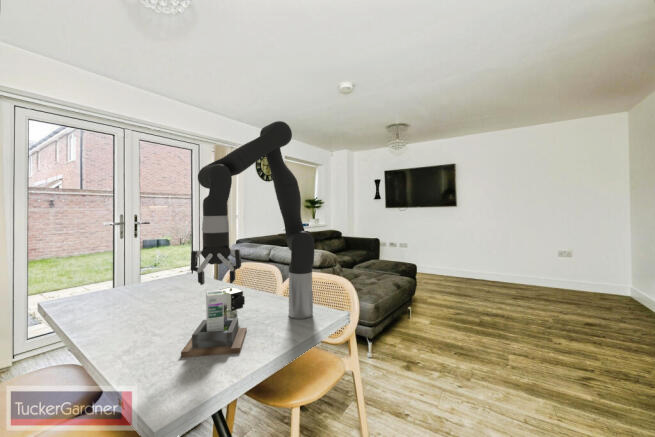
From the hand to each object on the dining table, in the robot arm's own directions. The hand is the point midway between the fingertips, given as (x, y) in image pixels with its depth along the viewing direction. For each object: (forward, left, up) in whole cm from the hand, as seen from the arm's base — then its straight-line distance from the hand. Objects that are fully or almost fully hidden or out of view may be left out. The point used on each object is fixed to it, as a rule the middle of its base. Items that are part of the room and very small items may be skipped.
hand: (217, 283), depth 85 cm
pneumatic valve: (-1, -20, -19) cm, 28 cm away
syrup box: (0, 0, -17) cm, 17 cm away
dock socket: (0, 0, -19) cm, 19 cm away
